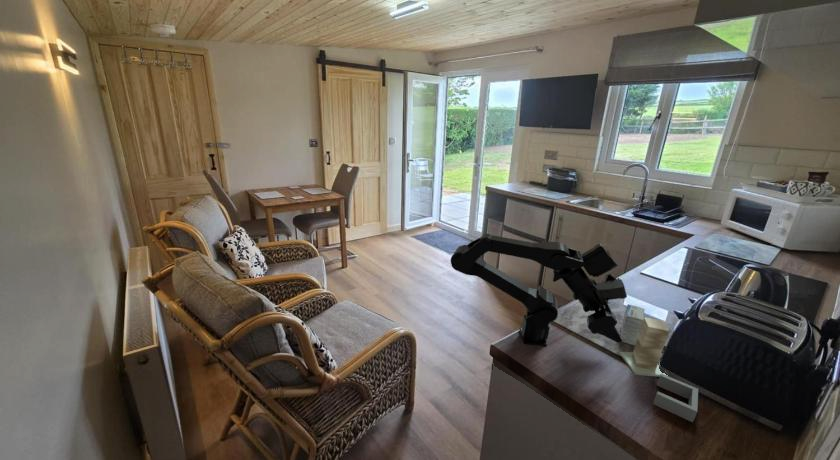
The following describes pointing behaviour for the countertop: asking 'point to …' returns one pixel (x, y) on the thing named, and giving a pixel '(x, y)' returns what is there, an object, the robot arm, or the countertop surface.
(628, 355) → the sage pad
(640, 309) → the medicine box
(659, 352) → the block
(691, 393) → the grey holder
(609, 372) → the countertop surface
